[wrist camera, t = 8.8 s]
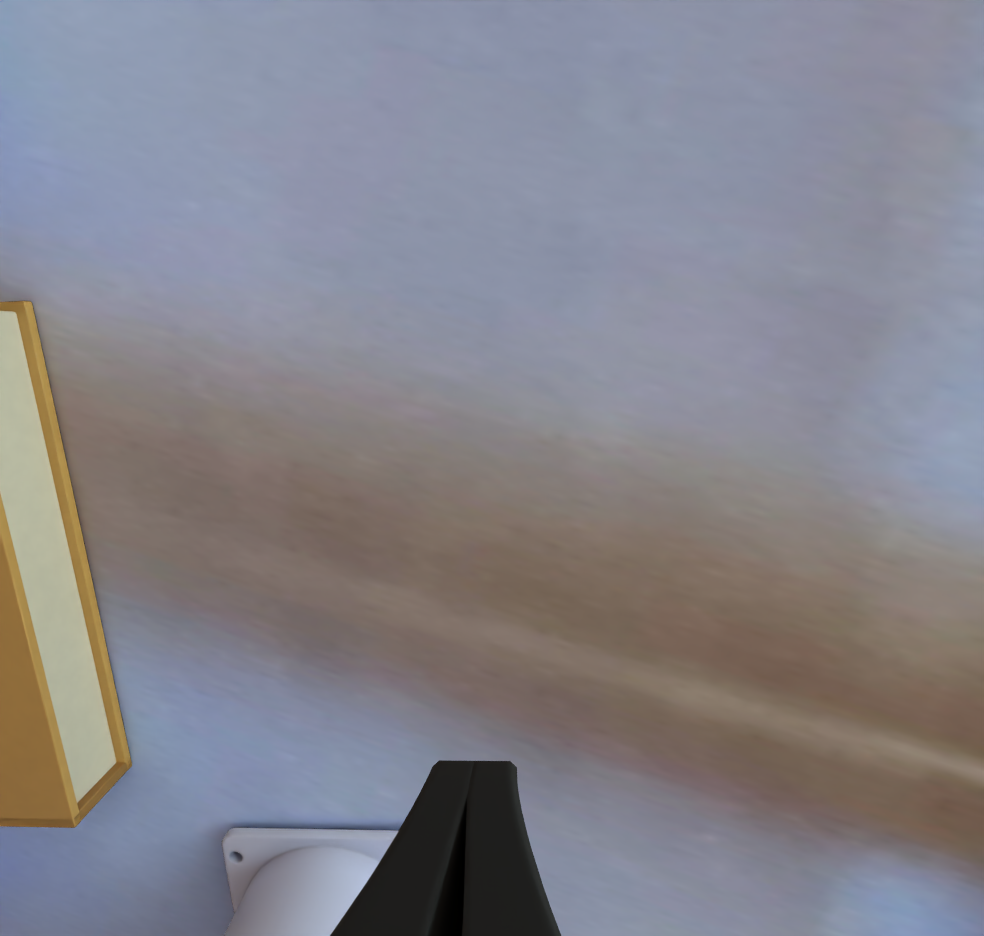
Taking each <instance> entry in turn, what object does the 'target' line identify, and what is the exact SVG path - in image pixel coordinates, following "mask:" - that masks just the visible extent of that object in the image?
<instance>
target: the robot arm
mask: <svg viewBox="0 0 984 936" xmlns="http://www.w3.org/2000/svg"><path fill="white" fill-rule="evenodd" d="M222 849H223V855H224V860H225V866H226V871H227V877H228V882H229V888H230V893H231V899H232V904H233V910H234V916H233V918H232V920H231V922H230V924H229V926H228V928H227V930H226V932H225V934H224V936H561V934H560V931H559V929H558V926H557V923H556V921H555V918H554V915H553V913H552V910H551V907H550V905H549V902H548V899H547V896H546V893H545V890H544V887H543V884H542V881H541V878H540V875H539V872H538V868H537V865H536V862H535V859H534V856H533V852H532V849H531V846H530V842H529V838H528V835H527V831H526V827H525V823H524V818H523V814H522V810H521V804H520V799H519V793H518V785H517V767H516V766H515V765H514V764H512V763H511V762H510V761H438V762H437V763H436V764H435V765H434V766H433V767H432V769H431V772H430V774H429V776H428V778H427V780H426V782H425V784H424V786H423V788H422V790H421V792H420V794H419V796H418V797H417V799H416V801H415V803H414V805H413V807H412V809H411V810H410V812H409V814H408V816H407V817H406V819H405V821H404V823H403V824H402V826H401V828H400V830H399V831H392V830H337V829H282V828H232V829H230V830H229V831H228V832H227V834H226V835H225V837H224V838H223V840H222Z"/></svg>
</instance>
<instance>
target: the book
mask: <svg viewBox="0 0 984 936" xmlns="http://www.w3.org/2000/svg"><path fill="white" fill-rule="evenodd" d="M131 766H132V762H131V758H130V753H129V748H128V744H127V739H126V735H125V730H124V725H123V721H122V716H121V712H120V707H119V702H118V698H117V693H116V688H115V684H114V679H113V675H112V670H111V665H110V661H109V656H108V652H107V647H106V642H105V638H104V633H103V628H102V624H101V619H100V615H99V610H98V605H97V601H96V596H95V592H94V587H93V582H92V578H91V573H90V568H89V564H88V559H87V555H86V550H85V545H84V541H83V536H82V532H81V527H80V522H79V518H78V513H77V509H76V504H75V499H74V495H73V490H72V485H71V481H70V476H69V472H68V467H67V462H66V458H65V453H64V449H63V444H62V439H61V435H60V430H59V425H58V421H57V416H56V412H55V407H54V402H53V398H52V393H51V389H50V384H49V379H48V375H47V370H46V365H45V361H44V356H43V352H42V347H41V342H40V338H39V333H38V329H37V324H36V319H35V315H34V310H33V306H32V302H30V301H14V302H0V826H11V827H66V828H75V827H76V826H77V825H78V824H79V823H80V822H81V820H82V819H83V818H84V817H85V816H86V815H87V814H88V813H89V812H90V811H91V809H92V808H93V807H94V806H95V805H96V804H97V803H98V802H99V801H100V800H101V799H102V797H103V796H104V795H105V794H106V793H107V792H108V791H109V790H110V789H111V788H112V787H113V786H114V784H115V783H116V782H117V781H118V780H119V779H120V778H121V777H122V776H123V775H124V774H125V773H126V771H127V770H128V769H129V768H130V767H131Z"/></svg>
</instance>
